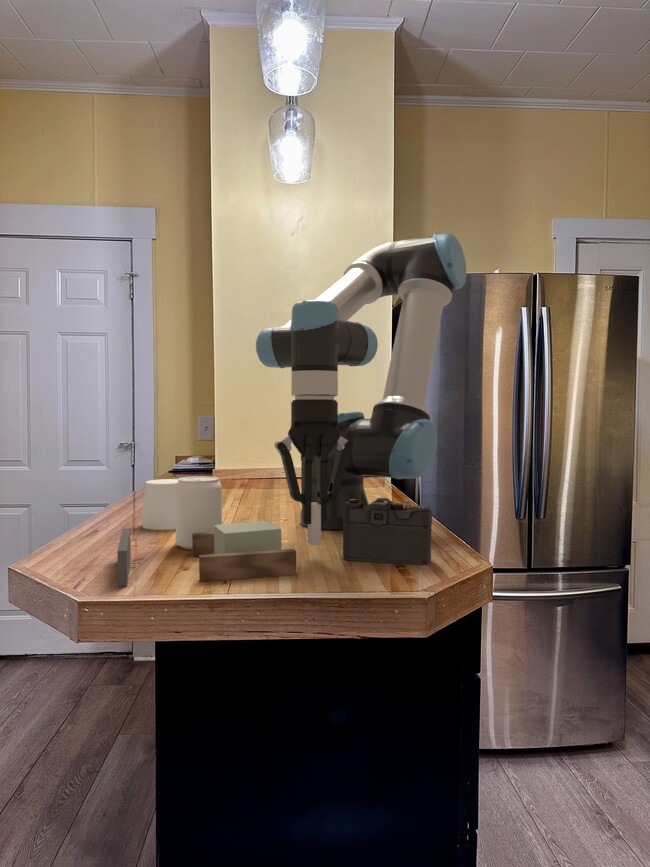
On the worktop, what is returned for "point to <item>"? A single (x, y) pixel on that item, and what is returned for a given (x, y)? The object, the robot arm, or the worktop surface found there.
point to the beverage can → (197, 507)
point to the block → (246, 537)
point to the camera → (387, 532)
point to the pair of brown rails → (240, 561)
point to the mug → (159, 505)
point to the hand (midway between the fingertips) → (314, 543)
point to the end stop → (124, 557)
